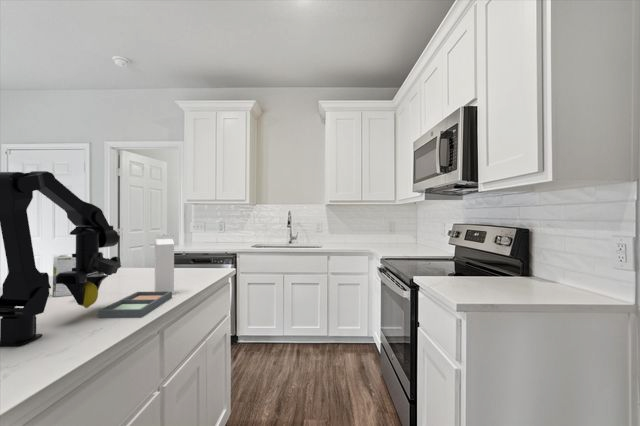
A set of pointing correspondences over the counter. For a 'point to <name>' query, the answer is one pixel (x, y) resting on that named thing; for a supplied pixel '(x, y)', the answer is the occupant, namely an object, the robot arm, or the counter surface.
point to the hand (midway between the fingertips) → (86, 302)
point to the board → (135, 305)
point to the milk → (164, 263)
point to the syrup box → (59, 266)
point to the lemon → (90, 295)
